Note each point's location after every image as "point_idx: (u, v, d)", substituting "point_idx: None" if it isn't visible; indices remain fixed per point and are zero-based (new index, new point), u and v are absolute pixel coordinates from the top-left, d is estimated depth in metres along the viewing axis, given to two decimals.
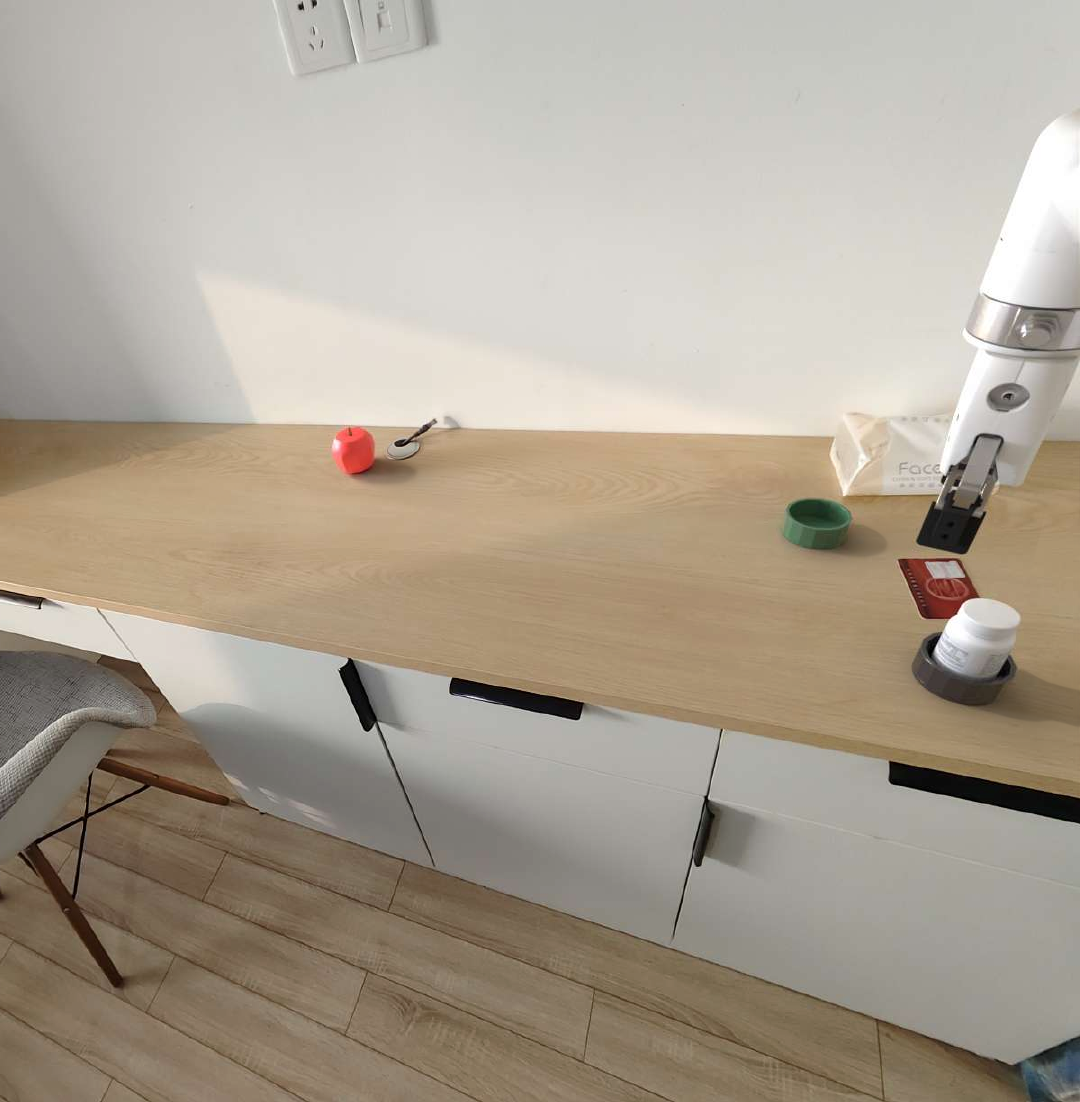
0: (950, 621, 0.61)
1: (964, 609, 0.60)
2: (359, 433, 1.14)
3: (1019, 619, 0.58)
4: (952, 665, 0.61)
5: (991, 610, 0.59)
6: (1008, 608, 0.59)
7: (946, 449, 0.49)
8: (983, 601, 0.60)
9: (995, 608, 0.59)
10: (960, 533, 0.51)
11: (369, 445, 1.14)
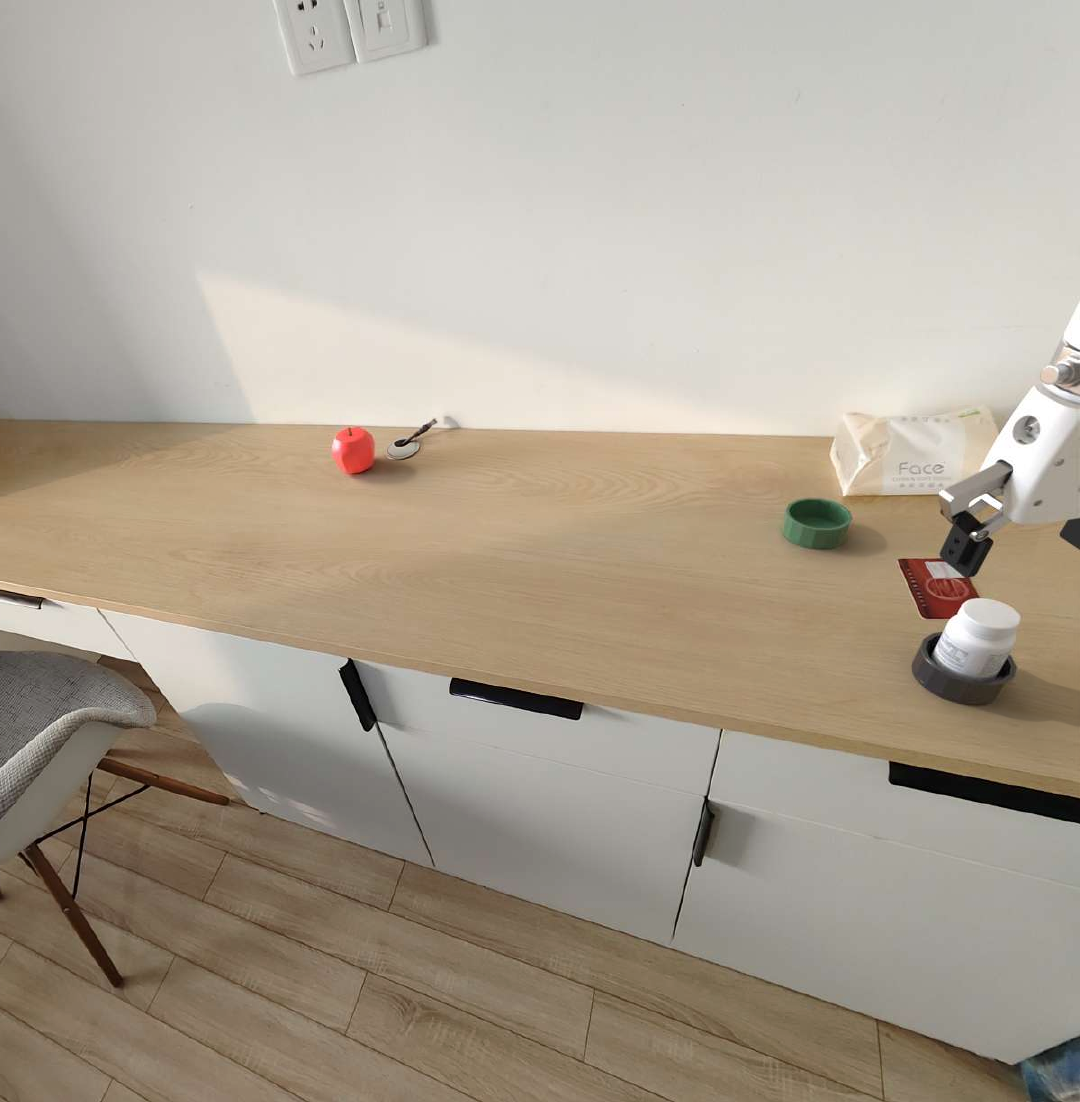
0: (950, 621, 0.61)
1: (964, 609, 0.60)
2: (359, 433, 1.14)
3: (1019, 619, 0.58)
4: (952, 665, 0.61)
5: (991, 610, 0.59)
6: (1008, 608, 0.59)
7: None
8: (983, 601, 0.60)
9: (995, 608, 0.59)
10: (961, 552, 0.54)
11: (369, 445, 1.14)
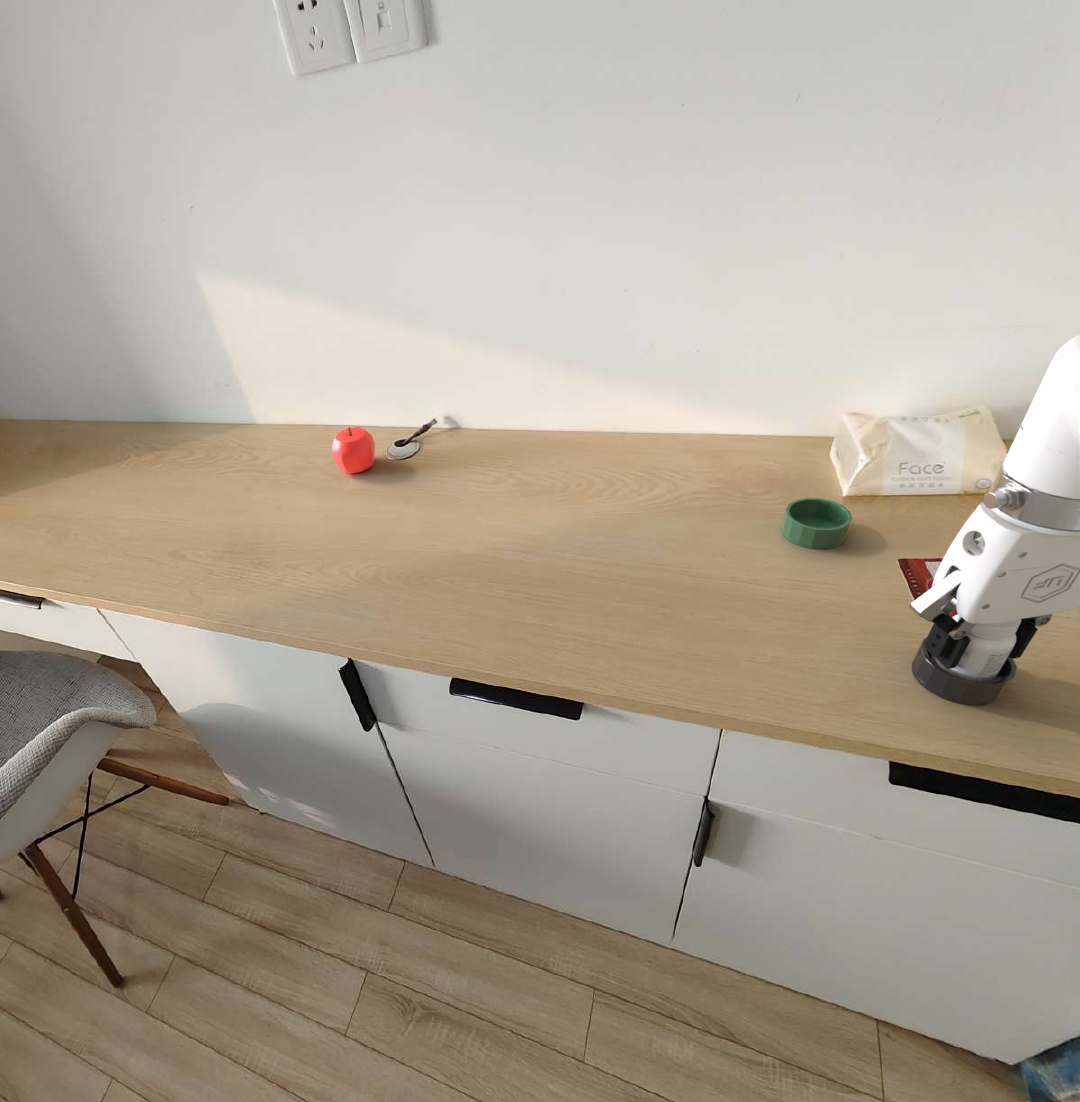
0: None
1: None
2: (359, 433, 1.14)
3: (1019, 619, 0.58)
4: None
5: None
6: None
7: None
8: None
9: None
10: (942, 647, 0.60)
11: (369, 445, 1.14)
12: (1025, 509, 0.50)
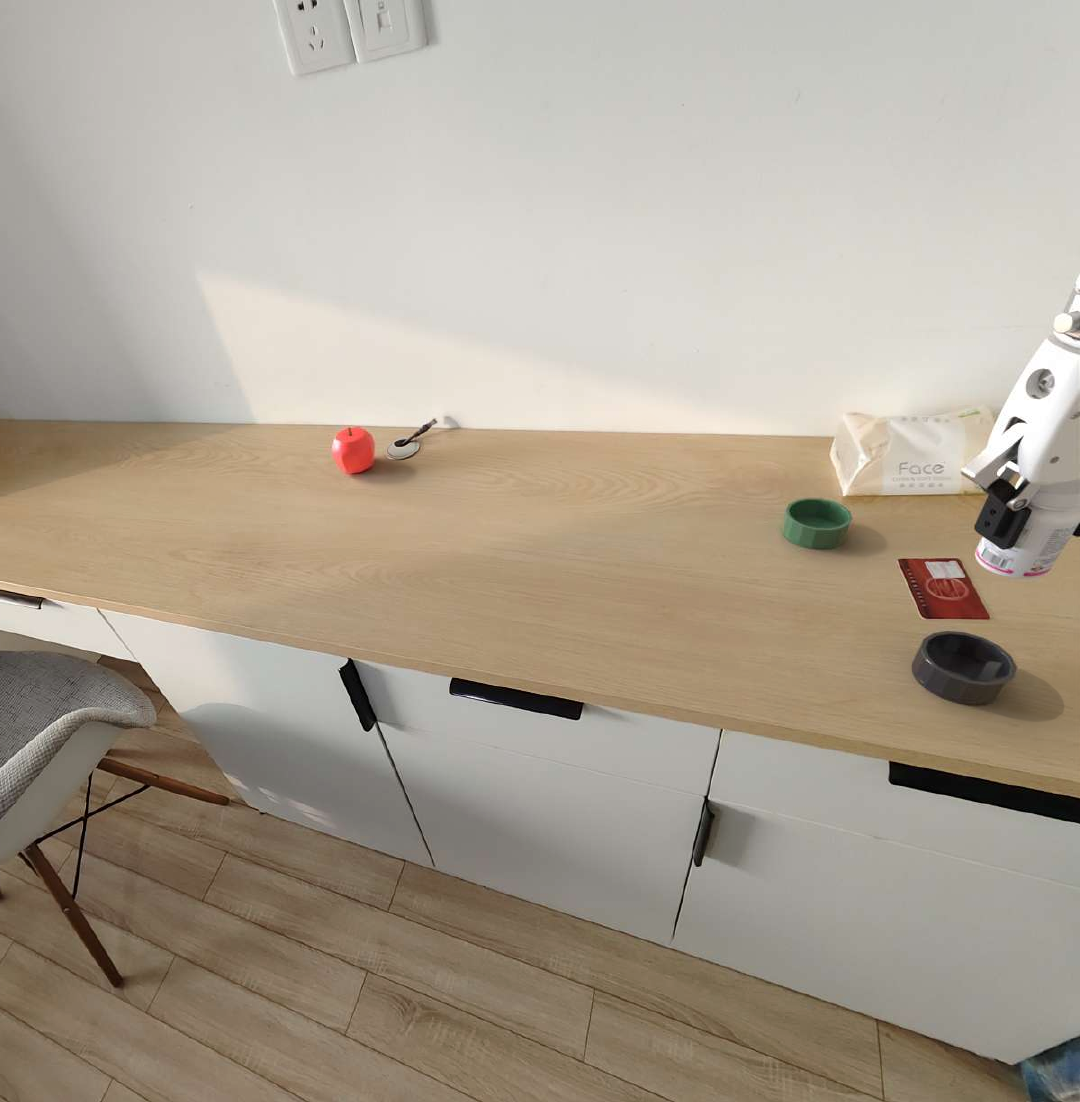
0: None
1: None
2: (359, 433, 1.14)
3: None
4: None
5: None
6: None
7: None
8: None
9: None
10: (997, 523, 0.52)
11: (369, 445, 1.14)
12: None
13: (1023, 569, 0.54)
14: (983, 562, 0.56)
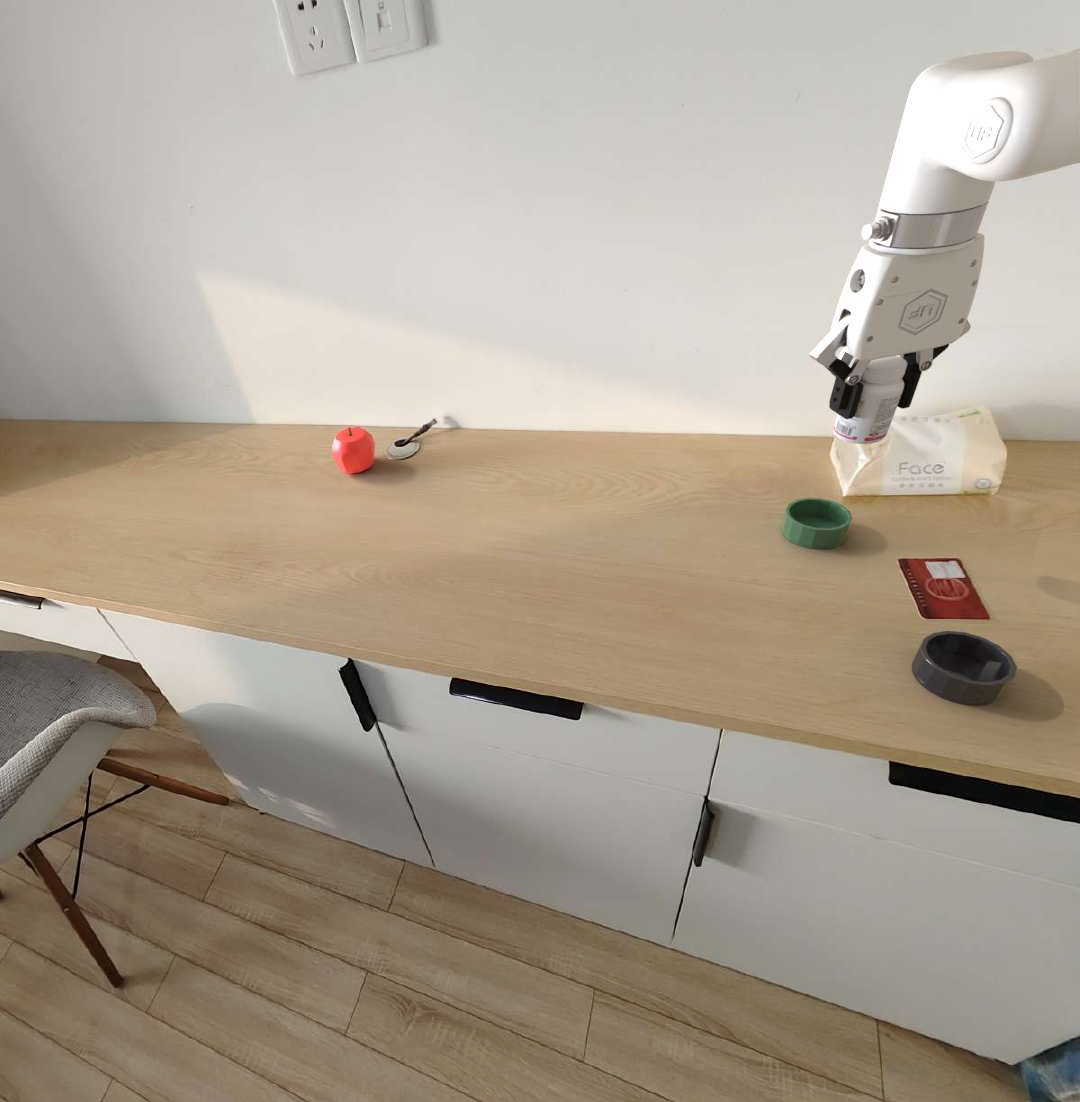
0: None
1: None
2: (359, 433, 1.14)
3: (905, 364, 0.66)
4: (851, 418, 0.69)
5: (883, 360, 0.67)
6: (898, 358, 0.67)
7: None
8: None
9: (886, 359, 0.67)
10: (841, 397, 0.68)
11: (369, 445, 1.14)
12: (894, 235, 0.58)
13: (863, 435, 0.70)
14: (837, 433, 0.72)
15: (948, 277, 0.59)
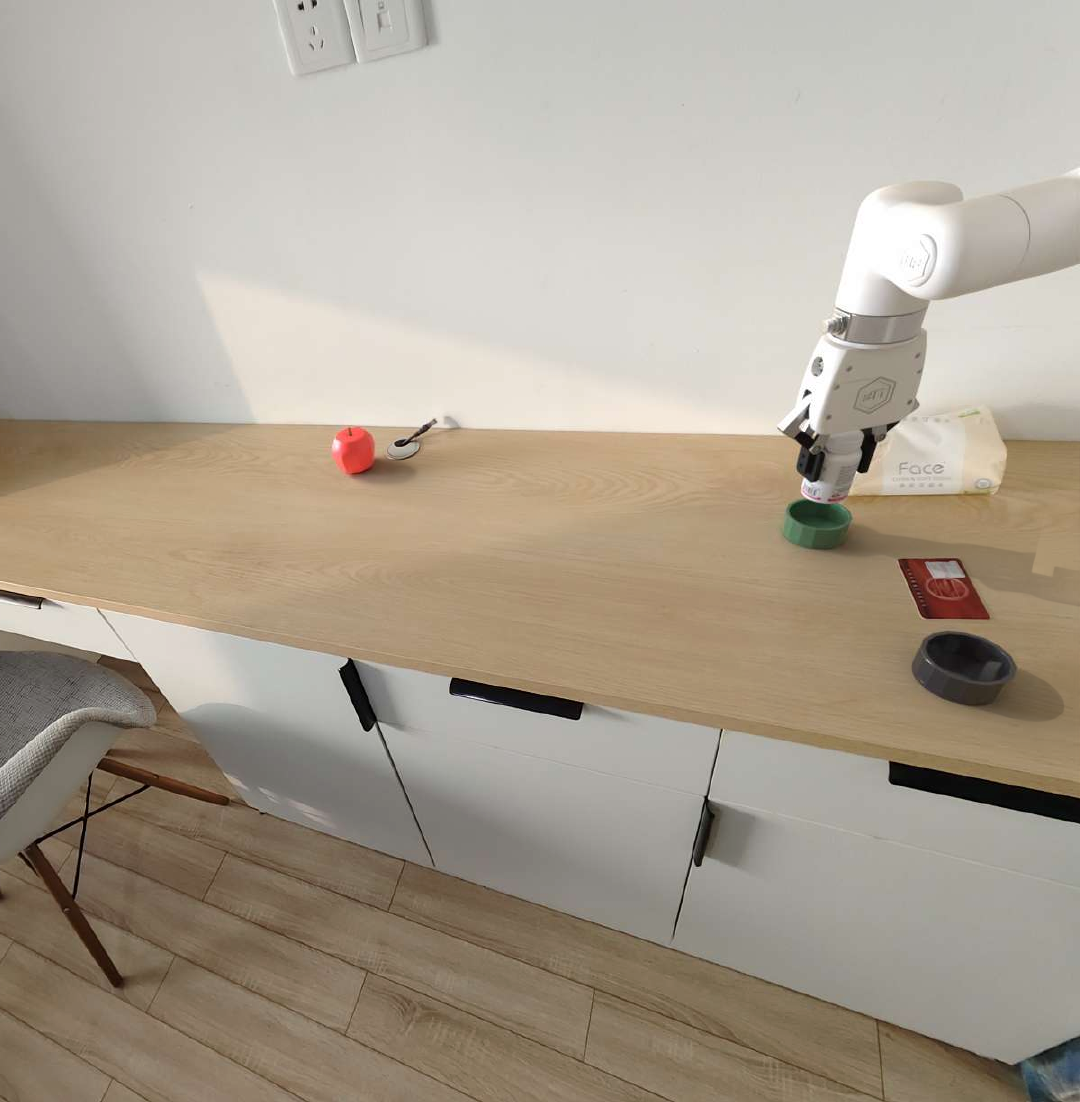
0: None
1: None
2: (359, 433, 1.14)
3: (862, 436, 0.73)
4: None
5: None
6: None
7: None
8: None
9: None
10: (806, 463, 0.76)
11: (369, 445, 1.14)
12: (848, 331, 0.66)
13: (826, 496, 0.77)
14: (804, 493, 0.80)
15: (896, 367, 0.67)
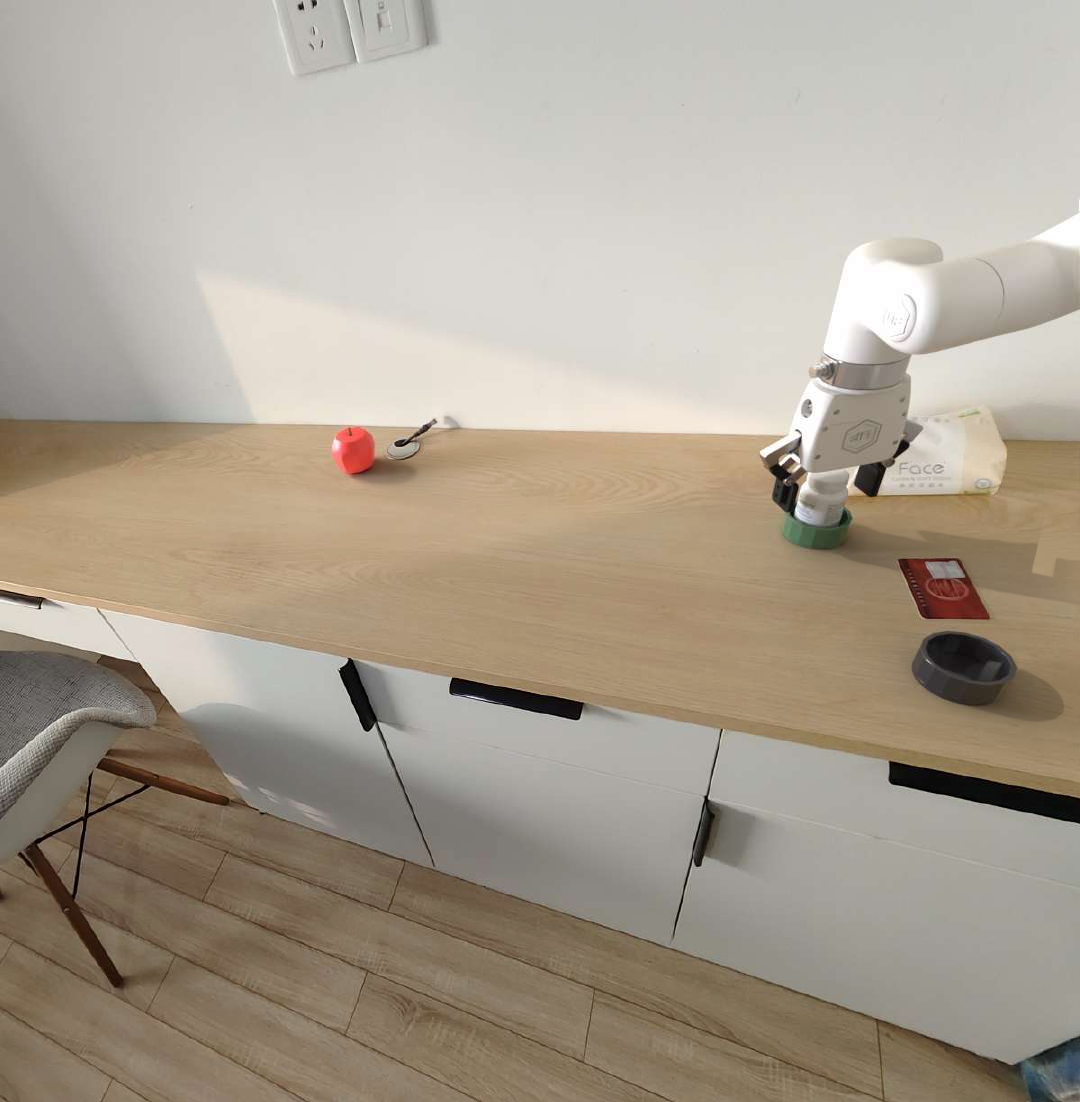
0: (803, 484, 0.81)
1: None
2: (359, 433, 1.14)
3: (847, 476, 0.77)
4: (805, 518, 0.81)
5: (829, 472, 0.78)
6: (841, 469, 0.78)
7: None
8: None
9: None
10: (780, 494, 0.78)
11: (369, 445, 1.14)
12: (835, 376, 0.69)
13: None
14: None
15: (881, 410, 0.70)
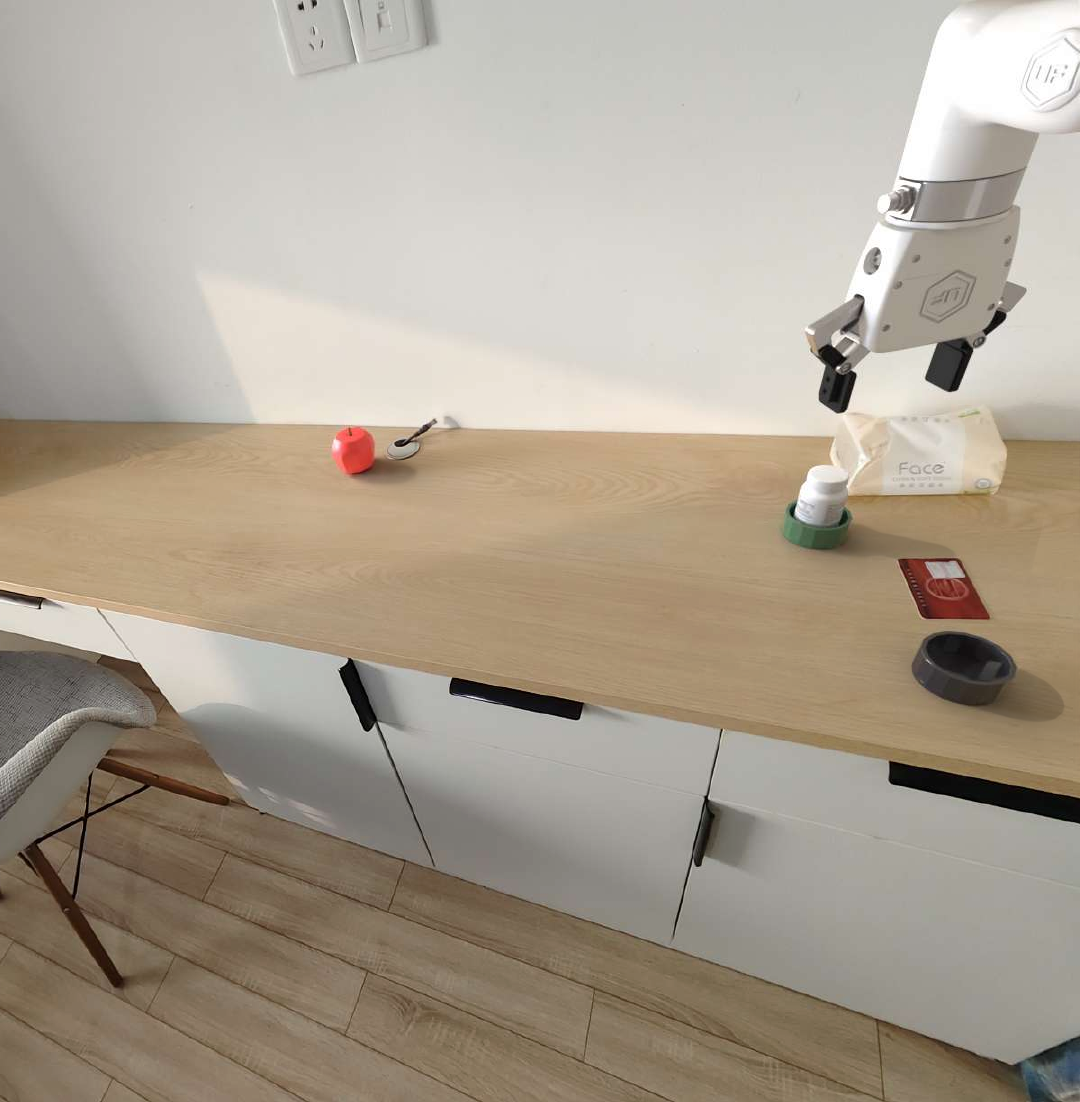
0: (803, 484, 0.81)
1: (810, 472, 0.79)
2: (359, 433, 1.14)
3: (847, 476, 0.77)
4: (805, 518, 0.81)
5: (829, 472, 0.78)
6: (841, 469, 0.78)
7: None
8: (825, 466, 0.79)
9: (832, 470, 0.78)
10: (831, 388, 0.60)
11: (369, 445, 1.14)
12: (916, 206, 0.50)
13: None
14: None
15: (978, 256, 0.51)
